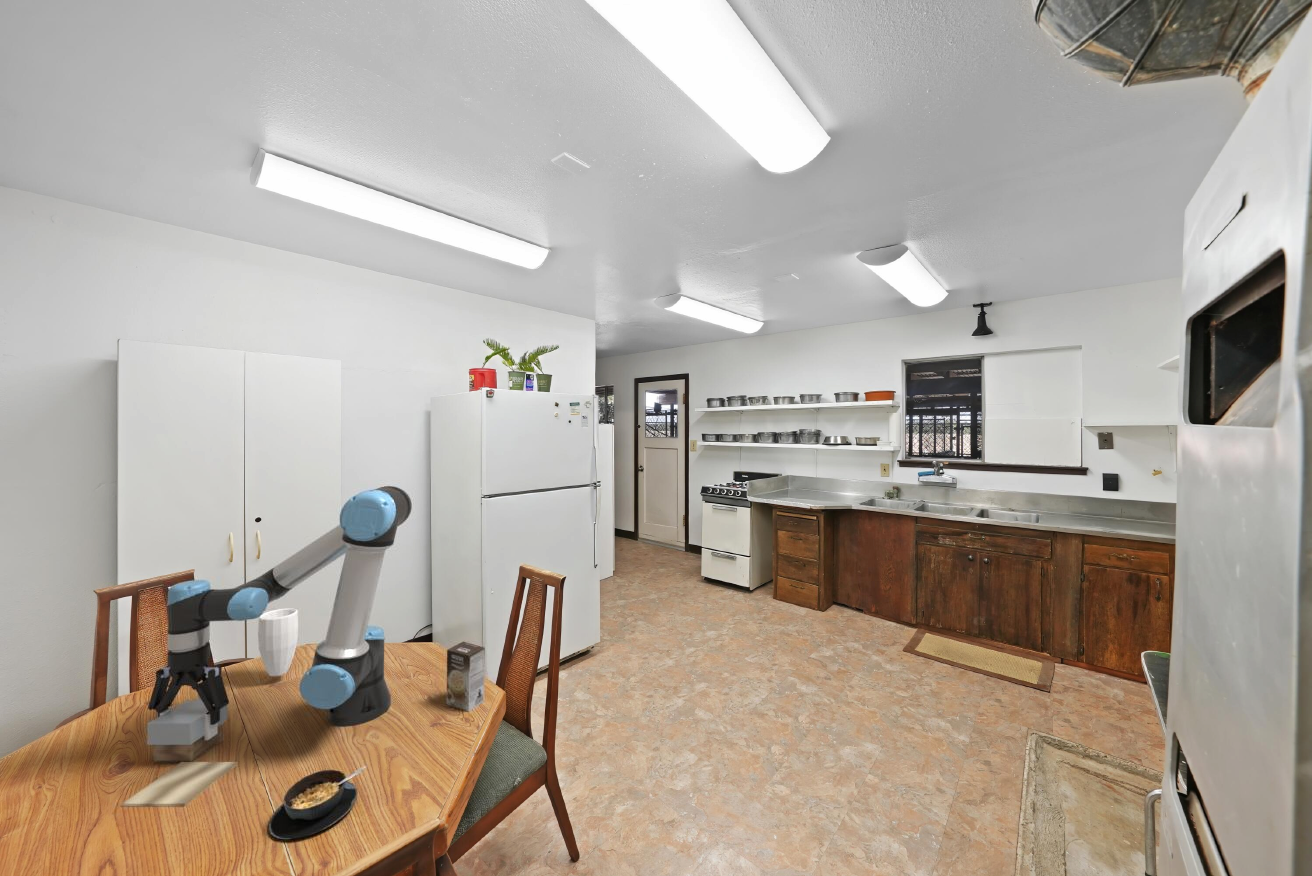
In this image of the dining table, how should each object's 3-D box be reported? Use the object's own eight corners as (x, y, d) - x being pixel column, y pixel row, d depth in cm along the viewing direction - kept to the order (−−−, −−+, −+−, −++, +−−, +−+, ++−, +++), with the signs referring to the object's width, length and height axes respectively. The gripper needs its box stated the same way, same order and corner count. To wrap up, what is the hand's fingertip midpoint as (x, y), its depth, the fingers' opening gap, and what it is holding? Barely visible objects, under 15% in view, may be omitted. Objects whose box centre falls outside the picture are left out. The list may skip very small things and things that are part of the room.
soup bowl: (307, 786, 109) (307, 753, 109) (377, 788, 108) (377, 755, 108) (248, 842, 94) (248, 803, 94) (330, 845, 93) (330, 806, 93)
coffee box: (445, 704, 141) (445, 649, 141) (462, 694, 147) (462, 640, 147) (468, 712, 137) (469, 655, 137) (485, 701, 143) (485, 646, 143)
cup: (282, 690, 148) (282, 619, 148) (248, 690, 149) (248, 619, 148) (307, 674, 159) (307, 607, 159) (275, 673, 159) (275, 607, 159)
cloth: (237, 764, 115) (237, 761, 115) (184, 806, 102) (184, 803, 102) (181, 764, 115) (181, 761, 115) (122, 806, 102) (122, 803, 102)
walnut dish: (222, 741, 124) (222, 721, 124) (190, 763, 115) (190, 742, 115) (187, 741, 124) (187, 721, 124) (153, 763, 115) (153, 742, 115)
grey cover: (227, 719, 125) (227, 700, 125) (190, 744, 115) (190, 723, 115) (187, 719, 125) (187, 700, 125) (147, 744, 115) (147, 723, 115)
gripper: (248, 639, 123) (248, 727, 124) (157, 639, 123) (157, 727, 123) (222, 652, 116) (222, 746, 116) (125, 652, 116) (125, 746, 116)
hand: (189, 736), depth 120 cm, fingers closed on grey cover, 10 cm apart
